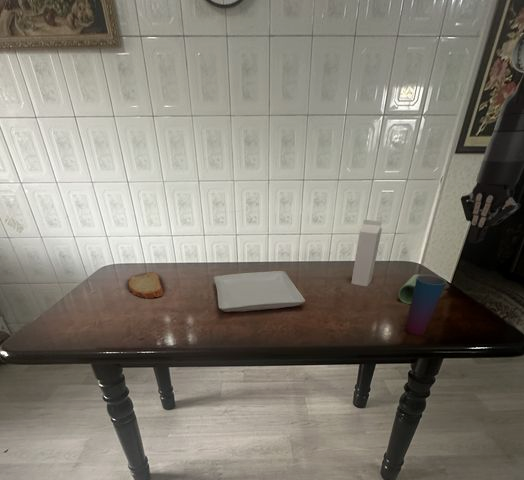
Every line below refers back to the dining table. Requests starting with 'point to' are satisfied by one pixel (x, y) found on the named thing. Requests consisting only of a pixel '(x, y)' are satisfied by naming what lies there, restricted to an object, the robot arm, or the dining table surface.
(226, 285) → the square plate
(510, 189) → the robot arm
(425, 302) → the cup
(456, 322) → the dining table surface
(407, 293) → the green cup
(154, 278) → the bread slice
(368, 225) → the milk
